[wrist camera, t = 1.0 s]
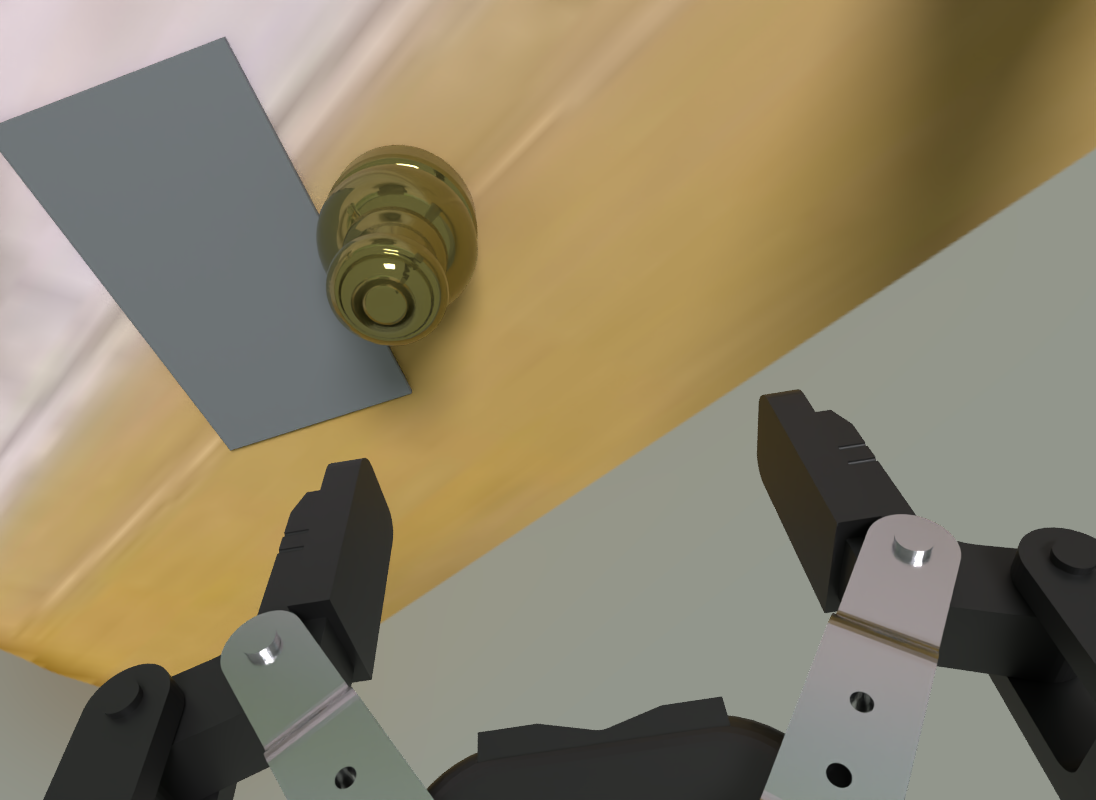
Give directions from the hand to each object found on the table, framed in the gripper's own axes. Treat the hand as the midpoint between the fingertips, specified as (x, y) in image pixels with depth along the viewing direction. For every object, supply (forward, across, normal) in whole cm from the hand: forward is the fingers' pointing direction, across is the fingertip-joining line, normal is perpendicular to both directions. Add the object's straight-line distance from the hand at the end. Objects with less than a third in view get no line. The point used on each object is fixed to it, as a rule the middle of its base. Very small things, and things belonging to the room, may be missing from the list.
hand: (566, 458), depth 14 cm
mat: (+24, +16, +4) cm, 29 cm away
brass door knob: (+24, +7, +3) cm, 25 cm away
